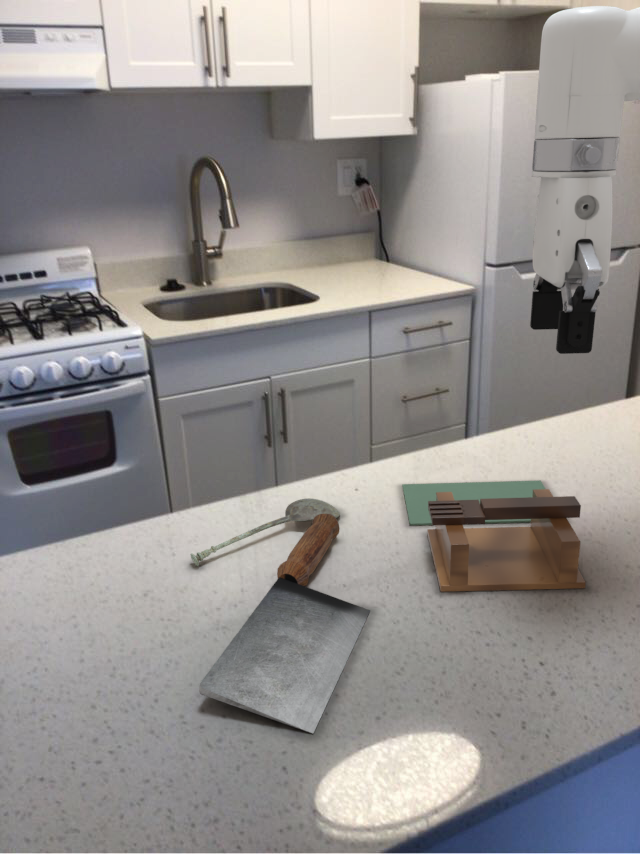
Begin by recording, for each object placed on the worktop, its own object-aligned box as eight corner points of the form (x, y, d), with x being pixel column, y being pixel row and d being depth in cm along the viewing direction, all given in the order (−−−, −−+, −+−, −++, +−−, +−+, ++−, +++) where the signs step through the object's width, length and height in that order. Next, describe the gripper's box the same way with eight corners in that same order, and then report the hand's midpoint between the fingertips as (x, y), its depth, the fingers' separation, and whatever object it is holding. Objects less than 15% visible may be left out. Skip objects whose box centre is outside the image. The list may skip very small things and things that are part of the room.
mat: (540, 482, 110) (540, 480, 109) (563, 521, 98) (564, 519, 98) (402, 486, 110) (402, 484, 110) (409, 525, 99) (409, 523, 99)
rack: (553, 531, 96) (557, 488, 94) (585, 588, 84) (590, 541, 82) (427, 534, 97) (427, 492, 94) (440, 591, 84) (441, 544, 82)
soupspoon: (350, 523, 101) (321, 508, 107) (350, 500, 100) (320, 486, 106) (205, 576, 89) (180, 556, 94) (203, 550, 88) (177, 531, 93)
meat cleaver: (315, 734, 65) (313, 696, 64) (196, 709, 68) (192, 672, 67) (400, 546, 95) (400, 517, 93) (314, 535, 98) (313, 507, 97)
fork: (571, 504, 90) (572, 492, 89) (582, 521, 86) (583, 509, 85) (427, 508, 90) (427, 496, 90) (432, 525, 86) (432, 513, 86)
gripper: (652, 160, 62) (628, 362, 68) (585, 157, 78) (570, 320, 84) (560, 163, 62) (544, 364, 68) (512, 158, 78) (502, 321, 84)
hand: (558, 339), depth 76 cm, fingers open, 9 cm apart
